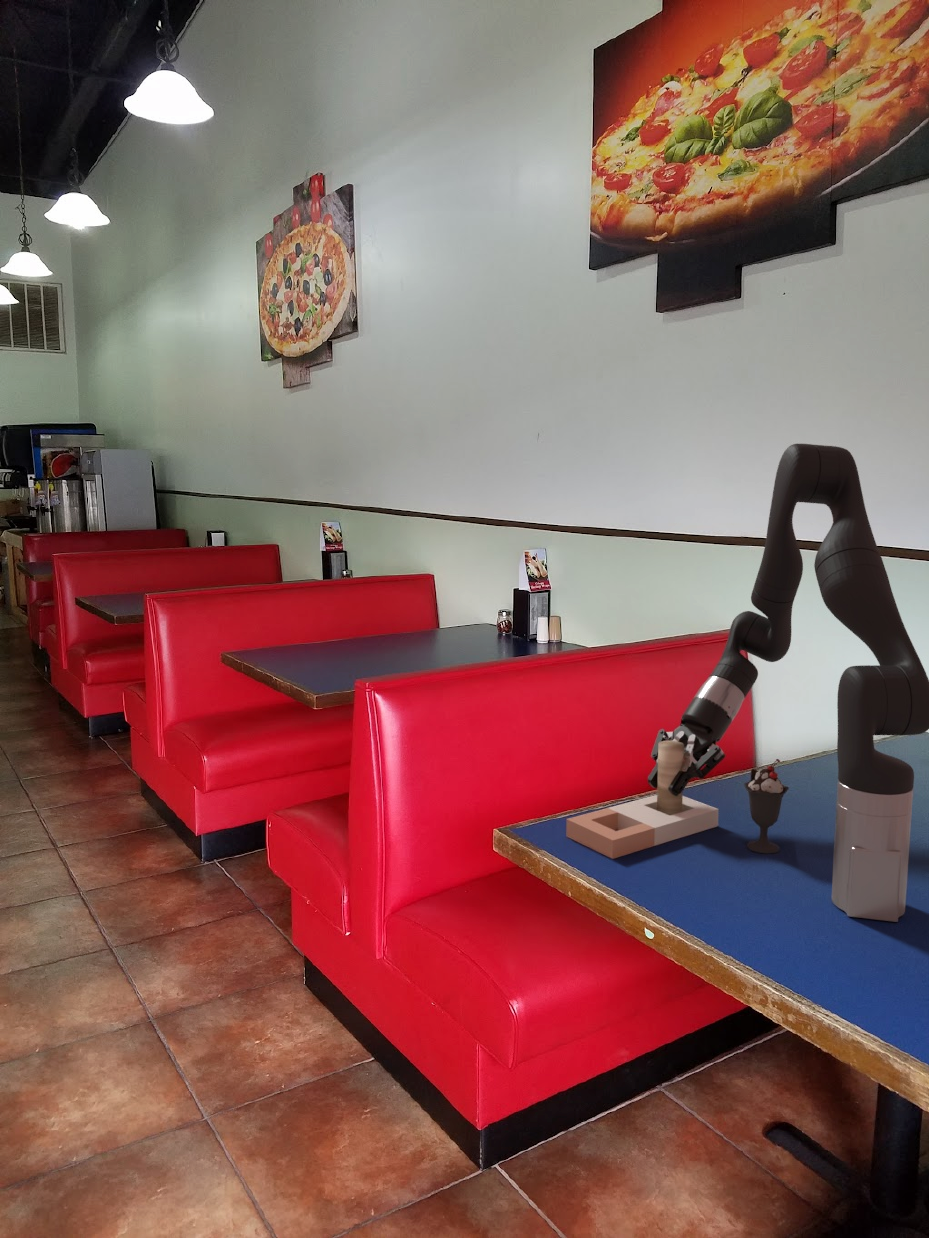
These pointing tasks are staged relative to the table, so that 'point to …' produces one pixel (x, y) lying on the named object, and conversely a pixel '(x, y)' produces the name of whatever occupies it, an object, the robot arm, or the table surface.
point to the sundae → (765, 805)
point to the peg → (669, 776)
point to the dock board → (638, 825)
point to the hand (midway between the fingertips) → (662, 788)
